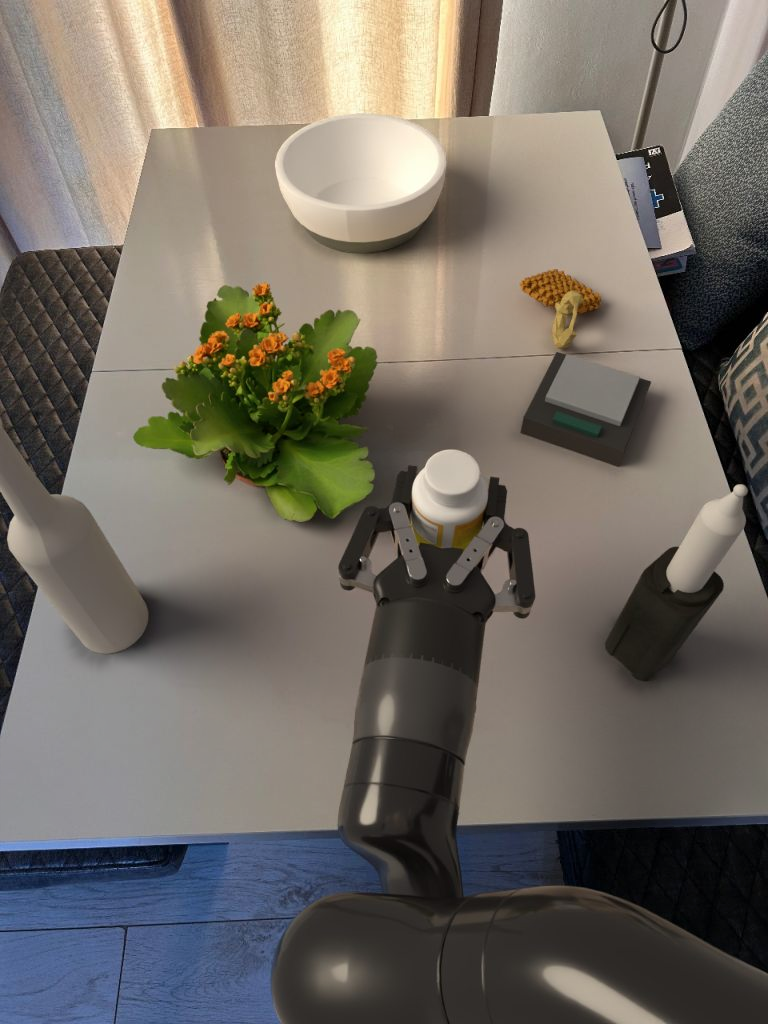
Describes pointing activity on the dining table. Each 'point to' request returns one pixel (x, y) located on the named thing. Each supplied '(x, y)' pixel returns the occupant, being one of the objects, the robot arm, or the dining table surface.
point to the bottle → (70, 559)
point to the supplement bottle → (448, 500)
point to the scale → (586, 408)
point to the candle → (676, 590)
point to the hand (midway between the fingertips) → (452, 477)
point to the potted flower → (273, 404)
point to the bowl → (361, 180)
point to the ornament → (571, 298)
